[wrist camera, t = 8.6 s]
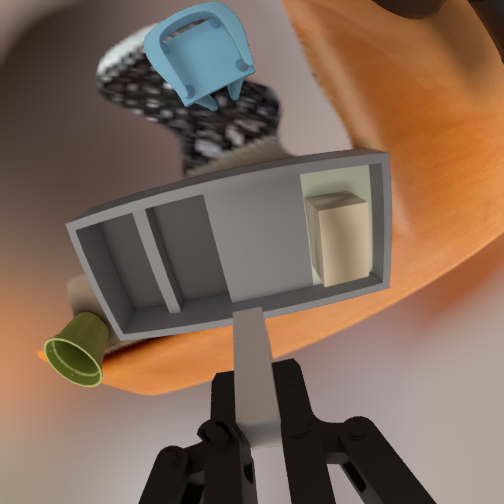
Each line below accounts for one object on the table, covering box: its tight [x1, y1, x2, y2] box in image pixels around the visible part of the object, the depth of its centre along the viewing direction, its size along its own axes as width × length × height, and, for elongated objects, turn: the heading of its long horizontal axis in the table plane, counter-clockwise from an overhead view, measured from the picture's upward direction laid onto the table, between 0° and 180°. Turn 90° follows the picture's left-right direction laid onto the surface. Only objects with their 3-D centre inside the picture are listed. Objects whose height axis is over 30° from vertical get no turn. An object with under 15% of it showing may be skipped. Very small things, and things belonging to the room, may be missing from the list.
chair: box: [143, 2, 255, 111], centre depth 19 cm, size 8×8×12 cm
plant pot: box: [44, 312, 109, 387], centre depth 32 cm, size 9×9×9 cm
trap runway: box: [66, 148, 392, 341], centre depth 30 cm, size 34×16×6 cm, turn 101°
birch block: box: [304, 190, 369, 287], centre depth 28 cm, size 5×8×5 cm, turn 11°
